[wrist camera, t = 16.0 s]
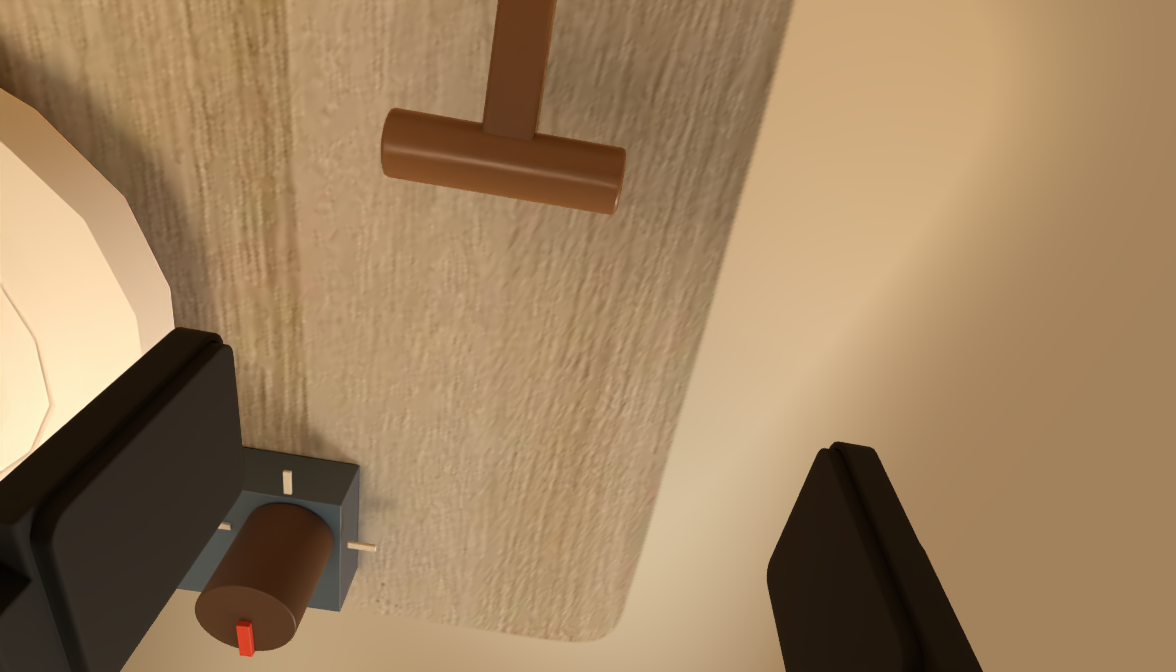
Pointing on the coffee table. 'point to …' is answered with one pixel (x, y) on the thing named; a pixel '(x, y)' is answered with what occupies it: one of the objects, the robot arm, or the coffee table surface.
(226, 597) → the knob
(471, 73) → the coffee table surface
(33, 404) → the white vase
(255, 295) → the coffee table surface
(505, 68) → the lever
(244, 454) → the panel
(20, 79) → the coffee table surface
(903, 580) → the robot arm
